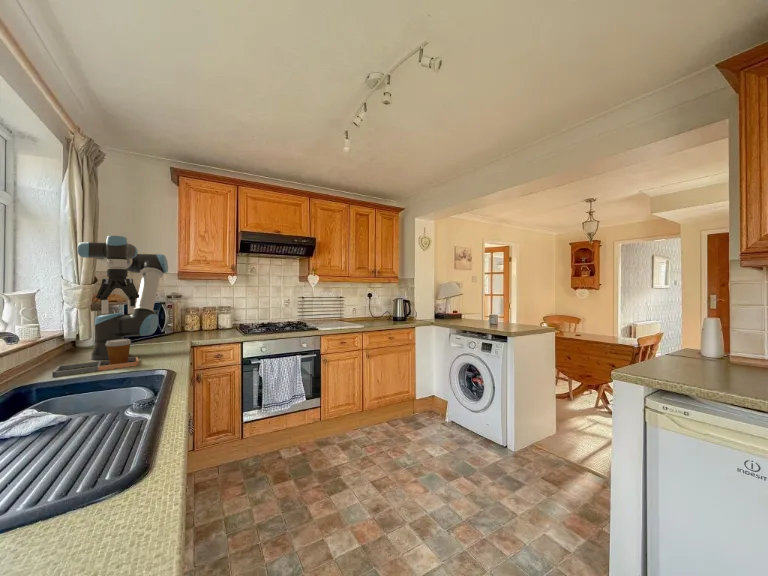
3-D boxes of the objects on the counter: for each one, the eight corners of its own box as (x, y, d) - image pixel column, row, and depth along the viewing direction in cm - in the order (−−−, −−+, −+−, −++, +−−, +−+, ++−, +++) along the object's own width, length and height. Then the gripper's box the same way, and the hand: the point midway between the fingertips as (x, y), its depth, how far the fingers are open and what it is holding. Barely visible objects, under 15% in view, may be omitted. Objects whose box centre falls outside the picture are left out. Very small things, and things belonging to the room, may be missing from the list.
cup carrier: (58, 370, 144) (58, 365, 144) (137, 360, 162) (137, 356, 162) (52, 377, 132) (52, 372, 132) (138, 365, 150) (138, 361, 150)
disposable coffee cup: (133, 365, 152) (133, 340, 152) (107, 369, 145) (106, 342, 145) (129, 362, 158) (129, 338, 158) (104, 365, 151) (103, 340, 151)
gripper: (85, 268, 149) (86, 314, 149) (134, 267, 146) (135, 314, 146) (101, 269, 156) (102, 312, 156) (148, 268, 154) (148, 312, 154)
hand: (118, 313), depth 151 cm, fingers open, 13 cm apart
